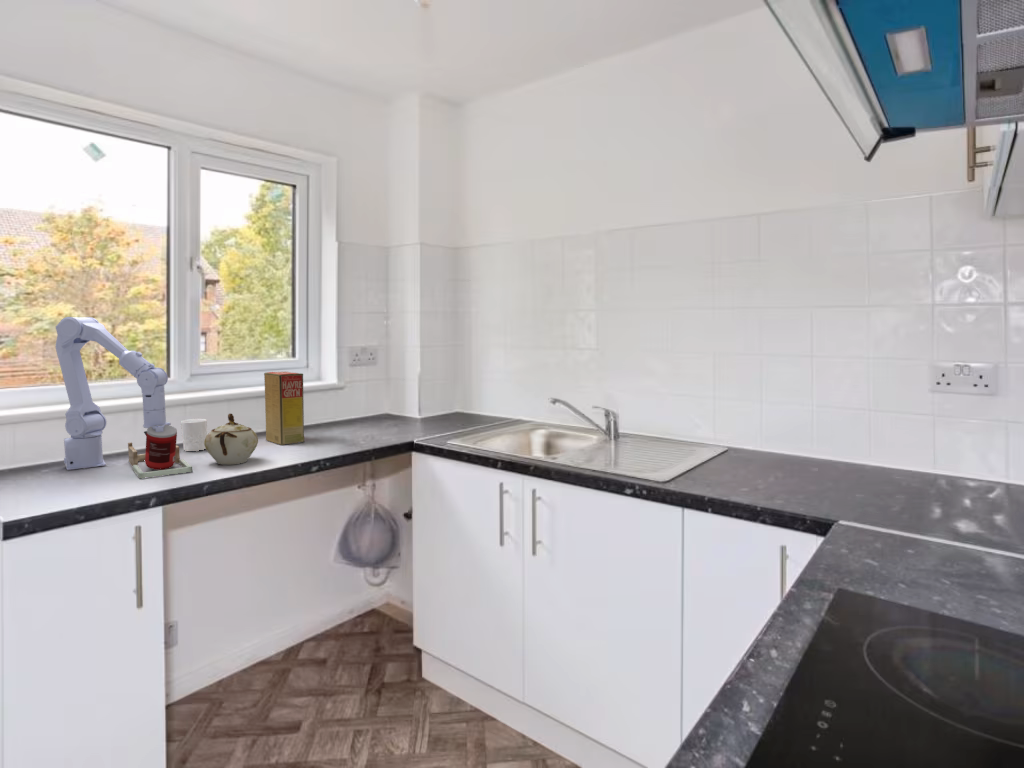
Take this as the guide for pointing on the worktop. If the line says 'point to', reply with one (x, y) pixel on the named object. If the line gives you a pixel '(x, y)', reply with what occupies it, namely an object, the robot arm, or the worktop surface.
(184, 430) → the white cup
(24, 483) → the worktop surface
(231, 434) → the sugar bowl
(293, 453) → the worktop surface
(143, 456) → the holder
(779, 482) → the worktop surface
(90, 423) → the robot arm
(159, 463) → the canned food
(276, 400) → the food packaging
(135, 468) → the bay
